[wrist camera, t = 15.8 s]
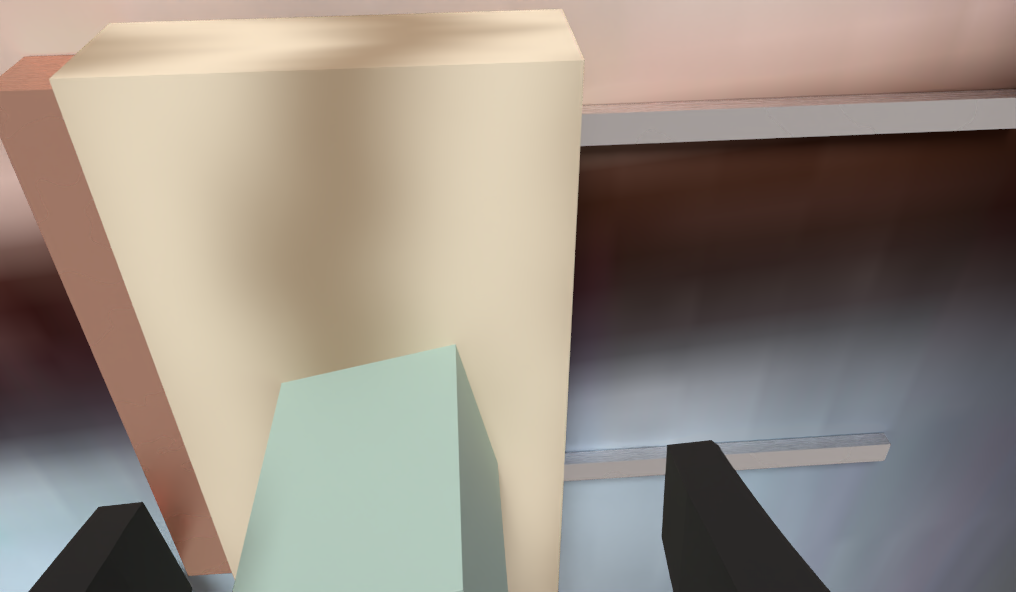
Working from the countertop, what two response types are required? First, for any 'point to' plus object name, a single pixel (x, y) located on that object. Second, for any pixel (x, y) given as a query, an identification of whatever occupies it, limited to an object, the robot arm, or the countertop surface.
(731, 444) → the track
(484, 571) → the block
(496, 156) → the cream rectangular box
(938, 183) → the countertop surface
